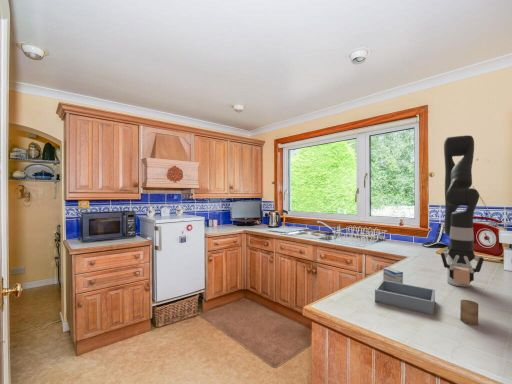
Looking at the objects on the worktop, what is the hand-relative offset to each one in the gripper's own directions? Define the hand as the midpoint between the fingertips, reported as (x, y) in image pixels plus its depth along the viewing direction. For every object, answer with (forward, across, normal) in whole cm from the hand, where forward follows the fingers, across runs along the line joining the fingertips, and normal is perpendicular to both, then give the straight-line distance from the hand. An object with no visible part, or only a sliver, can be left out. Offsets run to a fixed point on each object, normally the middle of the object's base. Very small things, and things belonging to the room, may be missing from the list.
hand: (461, 279), depth 106 cm
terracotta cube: (+1, 0, 0) cm, 1 cm away
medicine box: (+12, +26, -8) cm, 30 cm away
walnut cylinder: (+11, -2, +13) cm, 17 cm away
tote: (+11, +19, +7) cm, 23 cm away
